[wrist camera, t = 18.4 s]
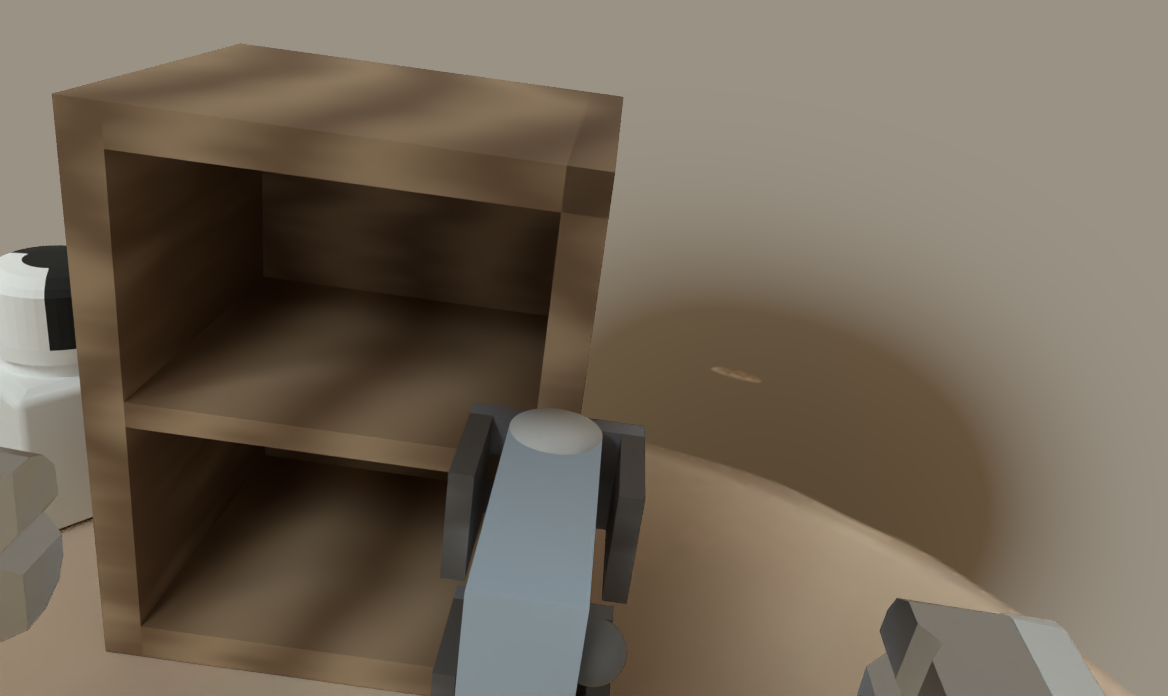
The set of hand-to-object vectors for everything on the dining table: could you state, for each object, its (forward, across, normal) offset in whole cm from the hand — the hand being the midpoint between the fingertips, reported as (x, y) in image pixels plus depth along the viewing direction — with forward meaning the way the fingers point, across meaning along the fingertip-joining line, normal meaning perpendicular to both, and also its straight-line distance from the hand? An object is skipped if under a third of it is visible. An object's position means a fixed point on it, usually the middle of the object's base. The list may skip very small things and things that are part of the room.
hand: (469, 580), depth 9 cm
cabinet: (+27, +6, +23) cm, 36 cm away
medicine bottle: (+32, +23, +24) cm, 46 cm away
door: (+15, -1, +23) cm, 28 cm away
